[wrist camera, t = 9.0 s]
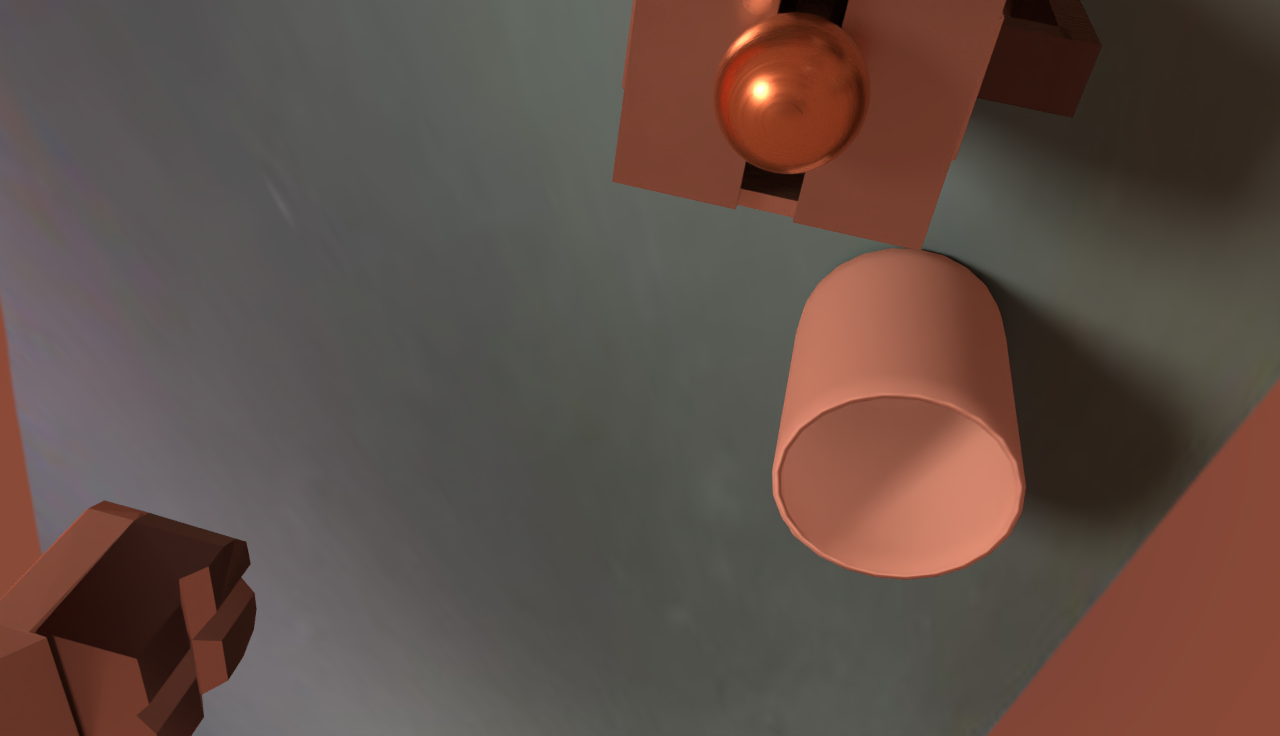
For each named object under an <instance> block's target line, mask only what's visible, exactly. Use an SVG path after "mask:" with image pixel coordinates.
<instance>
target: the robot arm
mask: <svg viewBox="0 0 1280 736" xmlns="http://www.w3.org/2000/svg"><path fill="white" fill-rule="evenodd" d="M250 564H251V563H250V558H249V553H248V548H247V542H245V541H242V540H239V539H235V538H232V537H229V536H225V535H222V534H218V533H215V532H212V531H208V530H205V529H202V528H198V527H195V526H192V525H188V524H185V523H181V522H178V521H175V520H171V519H168V518H165V517H161V516H158V515H154V514H152V513H148V512H144V511H141V510H137V509H134V508H130V507H126V506H123V505H119V504H115V503H112V502H108V501H105V500H104V501H102V502H100V503H98V504H96V505H94V506H92V507H90V508H88V509H87V510H86V511H84V513H83V514H82V515H81V516H80V517H79V518H78V519H77V520H76V521H75V522H74V523H73V524H72V525H71V526H70V527H69V528H68V529H67V530H66V531H65V532H64V533H63V534H62V535H61V536H60V537H59V538H58V539H57V541H56V542H55V543H54V544H53V545H52V546H51V547H50V548H49V549H48V550H47V551H46V552H45V553H44V554H43V555H42V556H41V557H40V558H39V559H38V560H37V561H36V562H35V563H34V564H33V566H31V568H30V569H29V570H28V571H27V572H26V573H25V574H24V575H23V576H22V577H21V578H20V579H19V580H18V581H17V582H16V583H15V584H14V585H13V586H12V587H11V588H10V589H9V590H8V591H7V592H6V593H5V595H4V596H3V597H2V598H1V599H0V736H192V734H193V733H194V731H195V730H196V728H197V727H198V725H199V724H200V722H201V721H202V719H203V718H204V711H203V701H202V694H204V693H206V692H207V691H209V690H211V689H213V688H215V687H217V686H219V685H221V684H222V683H224V682H226V681H228V680H229V678H230V677H231V675H232V674H233V672H234V670H235V669H236V667H237V666H238V664H239V663H240V661H241V659H242V658H243V656H244V653H245V651H246V648H247V646H248V643H249V641H250V638H251V635H252V633H253V630H254V625H255V617H256V600H255V593H254V592H253V591H252V589H251V588H250V587H249V586H248V585H247V584H246V582H245V581H244V580H243V579H242V578H241V577H242V575H243V574H244V573H245V571H246V570H247V568H248V567H249V566H250Z"/></svg>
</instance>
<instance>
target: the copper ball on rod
mask: <svg viewBox="0 0 1280 736" xmlns="http://www.w3.org/2000/svg"><path fill="white" fill-rule="evenodd" d="M847 4H848V0H781V5H780V9H779V14H777V15H773V16H769V17H767V18H765V19H762V20H760V21H758V22H756V23H755V24H753V25H751V26H749V27H748V28H747V29H746V30H744V31H743V32H742V33H741V34H740V35H739V36H738V37H737V38H736V39H735V40H734V41H733V42H732V44H731V45H730V46H729V47H728V49H727V50H726V52H725V54H724V55H723V57H722V59H721V61H720V63H719V66H718V68H717V72H716V76H715V80H714V86H713V106H714V113H715V117H716V120H717V124H718V126H719V128H720V131H721V133H722V134H723V136H724V138H725V139H726V141H727V143H728V144H729V145H730V146H731V148H732V149H733V150H734V151H735V152H736V153H737V154H738V155H739V156H740V157H742V158H743V159H744V160H746V161H747V162H749V163H750V164H752V165H754V166H756V167H758V168H760V169H763V170H766V171H769V172H774V173H780V174H798V173H804V172H809V171H812V170H815V169H818V168H820V167H822V166H824V165H826V164H828V163H830V162H831V161H833V160H834V159H836V158H837V157H838V156H840V155H841V154H842V153H843V152H844V151H845V150H846V149H847V148H848V147H849V146H850V145H851V144H852V142H853V141H854V140H855V138H856V137H857V135H858V134H859V132H860V130H861V128H862V126H863V124H864V122H865V119H866V116H867V113H868V109H869V104H870V95H871V87H870V77H869V72H868V67H867V65H866V62H865V59H864V57H863V55H862V53H861V51H860V49H859V48H858V46H857V45H856V43H855V42H854V41H853V39H852V38H851V37H850V36H849V35H848V34H847V33H846V32H845V31H844V30H843V29H841V28H842V24H843V20H844V16H845V12H846V8H847Z"/></svg>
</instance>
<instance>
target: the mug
mask: <svg viewBox="0 0 1280 736" xmlns="http://www.w3.org/2000/svg"><path fill="white" fill-rule="evenodd" d="M772 474H773V496H774V498H775V501H776V504H777V506H778V509H779V512H780V514H781V517H782V519H783V520H784V521H785V523H786V524H787V525H788V527H789V528H790V531H791V532H792V534H793V535H794V536H795V537H797V538H798V539H799V540H800V541H801V542H803V543H804V544H805V545H806V546H808V547H809V548H810V549H811V550H813V551H814V552H815V553H816V554H818V555H819V556H821V557H823V558H825V559H827V560H829V561H831V562H833V563H835V564H837V565H839V566H841V567H843V568H845V569H848V570H851V571H855V572H859V573H862V574H866V575H870V576H873V577H881V578H893V579H904V580H907V579H917V578H927V577H937V576H940V575H943V574H947V573H950V572H953V571H957V570H960V569H963V568H966V567H968V566H970V565H971V564H973V563H975V562H977V561H979V560H980V559H982V558H984V557H986V556H987V555H989V554H991V553H992V552H993V551H994V550H995V549H996V548H997V547H998V546H999V545H1000V544H1001V543H1002V542H1003V541H1004V540H1005V539H1006V538H1007V537H1008V536H1009V535H1010V534H1011V532H1012V530H1013V528H1014V527H1015V525H1016V523H1017V521H1018V519H1019V517H1020V515H1021V513H1022V510H1023V504H1024V497H1025V490H1026V483H1025V476H1024V468H1023V461H1022V453H1021V446H1020V438H1019V431H1018V423H1017V416H1016V408H1015V401H1014V394H1013V386H1012V379H1011V371H1010V364H1009V356H1008V349H1007V341H1006V336H1005V331H1004V326H1003V322H1002V317H1001V314H1000V311H999V308H998V306H997V304H996V302H995V300H994V299H993V297H992V295H991V293H990V292H989V290H988V288H987V287H986V285H985V284H984V283H983V282H982V281H981V280H980V279H979V278H977V277H976V276H975V275H974V274H973V273H972V272H971V271H970V270H969V269H968V268H966V267H964V266H963V265H961V264H959V263H957V262H955V261H953V260H951V259H949V258H948V257H946V256H944V255H940V254H936V253H932V252H928V251H923V250H921V251H919V250H914V249H892V248H889V249H884V250H880V251H875V252H871V253H866V254H862V255H860V256H858V257H856V258H854V259H852V260H849V261H847V262H845V263H843V264H841V265H839V266H838V267H836V268H835V269H834V270H833V271H832V272H831V273H829V274H828V275H827V276H826V277H825V278H823V279H822V280H821V281H820V282H819V284H818V285H817V287H816V288H815V289H814V291H813V292H812V294H811V295H810V297H809V298H808V300H807V302H806V304H805V307H804V309H803V312H802V316H801V319H800V322H799V325H798V329H797V332H796V338H795V343H794V349H793V355H792V361H791V366H790V372H789V378H788V384H787V389H786V395H785V401H784V407H783V412H782V418H781V424H780V430H779V436H778V441H777V447H776V453H775V459H774V464H773V470H772Z"/></svg>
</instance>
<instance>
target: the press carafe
mask: <svg viewBox="0 0 1280 736" xmlns="http://www.w3.org/2000/svg"><path fill="white" fill-rule="evenodd" d="M780 5H781V0H633V6H632V14H631V22H630V29H629V37H628V45H627V52H626V60H625V68H624V76H623V83H622V87H623V89H624V96H623V104H622V111H621V119H620V126H619V134H618V142H617V149H616V157H615V164H614V172H613V180H612V182H616V183H621V184H625V185H629V186H634V187H638V188H643V189H647V190H652V191H656V192H661V193H665V194H670V195H674V196H678V197H683V198H687V199H692V200H696V201H701V202H705V203H710V204H714V205H718V206H723V207H727V208H732V209H736V206H737V205H741V206H745V207H750V208H754V209H759V210H763V211H767V212H772V213H776V214H781V215H785V216H790V217H794V219H793V222H794V223H799V224H803V225H807V226H812V227H816V228H821V229H825V230H830V231H834V232H839V233H843V234H848V235H852V236H856V237H861V238H865V239H870V240H874V241H879V242H883V243H888V244H892V245H896V246H901V247H905V248H910V249H914V250H919V251H921V248H922V245H923V242H924V239H925V236H926V233H927V230H928V227H929V224H930V221H931V219H932V216H933V213H934V210H935V207H936V204H937V201H938V198H939V195H940V192H941V189H942V186H943V183H944V181H945V178H946V175H947V172H948V169H949V166H950V163H951V161H953V160H955V159H956V157H957V154H958V151H959V148H960V145H961V142H962V139H963V136H964V133H965V130H966V128H967V125H968V122H969V119H970V116H971V113H972V110H973V107H974V104H975V101H976V99H977V98H981V99H986V100H990V101H995V102H1000V103H1005V104H1010V105H1014V106H1019V107H1024V108H1029V109H1033V110H1038V111H1043V112H1048V113H1053V114H1057V115H1062V116H1067V117H1073V115H1074V112H1075V110H1076V108H1077V105H1078V103H1079V100H1080V98H1081V95H1082V93H1083V90H1084V88H1085V85H1086V83H1087V81H1088V78H1089V76H1090V73H1091V71H1092V68H1093V66H1094V63H1095V61H1096V58H1097V56H1098V54H1099V51H1100V49H1101V46H1102V45H1101V43H1100V41H1099V39H1098V37H1097V35H1096V33H1095V30H1094V28H1093V26H1092V24H1091V22H1090V20H1089V18H1088V16H1087V14H1086V12H1085V9H1084V7H1083V5H1082V3H1081V1H1080V0H848V4H847V8H846V12H845V16H844V20H843V24H842V28H841V29H843V30H844V31H845V32H846V33H847V34H848V35H849V36H850V37H851V38H852V39H853V41H854V42H855V43H856V45H857V46H858V48H859V49H860V51H861V53H862V55H863V57H864V59H865V62H866V65H867V67H868V72H869V77H870V87H871V95H870V104H869V109H868V113H867V116H866V119H865V122H864V124H863V126H862V128H861V130H860V132H859V134H858V135H857V137H856V138H855V140H854V141H853V142H852V144H851V145H850V146H849V147H848V148H847V149H846V150H845V151H844V152H843V153H842V154H841V155H840V156H838V157H837V158H836V159H834V160H833V161H831V162H830V163H828V164H826V165H824V166H822V167H820V168H818V169H815V170H812V171H809V172H804V173H798V174H780V173H774V172H769V171H766V170H763V169H760V168H758V167H756V166H754V165H752V164H750V163H749V162H747V161H746V160H744V159H743V158H742V157H740V156H739V155H738V154H737V153H736V152H735V151H734V150H733V149H732V148H731V146H730V145H729V144H728V143H727V141H726V139H725V138H724V136H723V134H722V133H721V131H720V128H719V126H718V124H717V120H716V117H715V113H714V106H713V86H714V80H715V76H716V72H717V68H718V66H719V63H720V61H721V59H722V57H723V55H724V54H725V52H726V50H727V49H728V47H729V46H730V45H731V44H732V42H733V41H734V40H735V39H736V38H737V37H738V36H739V35H740V34H741V33H742V32H743V31H744V30H746V29H747V28H748V27H749V26H751V25H753V24H755V23H756V22H758V21H760V20H762V19H765V18H767V17H769V16H773V15H777V14H779V9H780ZM1004 15H1007V16H1004ZM1008 16H1011V17H1008Z"/></svg>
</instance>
